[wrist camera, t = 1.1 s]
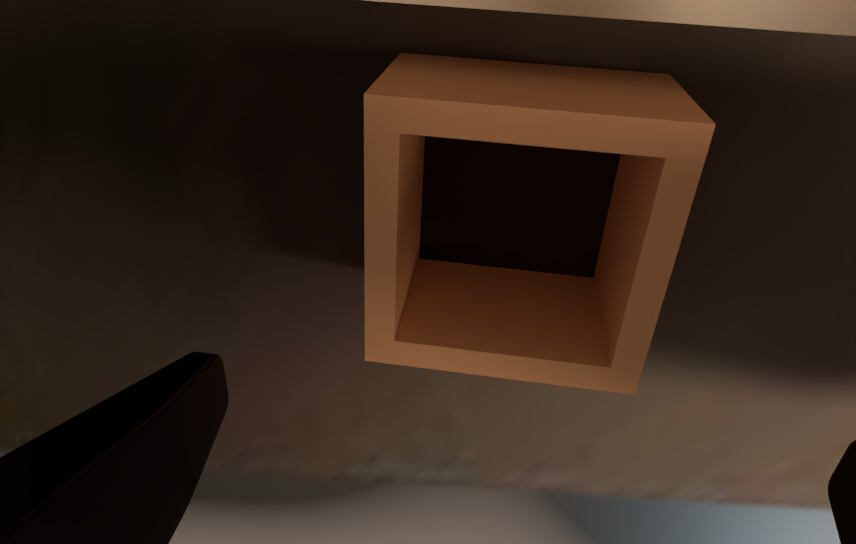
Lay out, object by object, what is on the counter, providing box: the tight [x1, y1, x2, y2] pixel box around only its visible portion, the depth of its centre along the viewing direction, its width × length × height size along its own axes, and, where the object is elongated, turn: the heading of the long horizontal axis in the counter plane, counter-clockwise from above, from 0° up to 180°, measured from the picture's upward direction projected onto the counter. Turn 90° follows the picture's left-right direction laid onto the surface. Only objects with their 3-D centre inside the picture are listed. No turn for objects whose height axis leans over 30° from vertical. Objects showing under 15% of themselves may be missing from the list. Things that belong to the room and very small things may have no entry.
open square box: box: [364, 53, 716, 395], centre depth 14 cm, size 6×6×4 cm
